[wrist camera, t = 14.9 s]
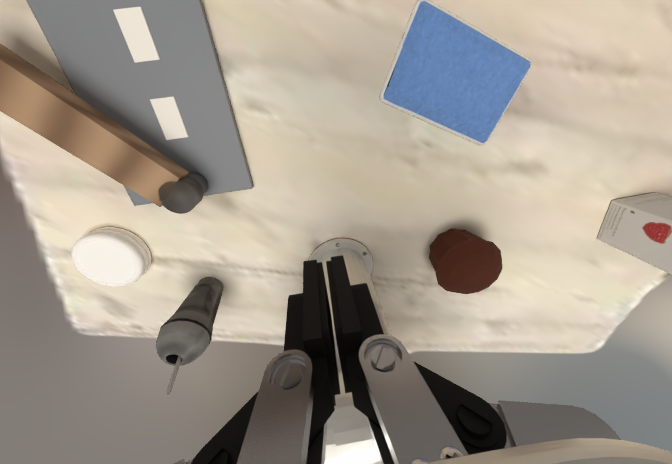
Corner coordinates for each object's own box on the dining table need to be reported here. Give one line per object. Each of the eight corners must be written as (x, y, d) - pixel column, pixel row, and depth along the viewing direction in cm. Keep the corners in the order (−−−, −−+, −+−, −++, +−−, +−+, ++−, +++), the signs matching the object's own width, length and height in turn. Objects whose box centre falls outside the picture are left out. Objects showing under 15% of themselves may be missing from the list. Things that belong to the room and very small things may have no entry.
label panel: (253, 186, 41) (248, 194, 37) (138, 202, 40) (121, 213, 36) (191, -37, 29) (174, -57, 25) (25, -19, 28) (-18, -37, 24)
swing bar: (210, 187, 36) (203, 194, 33) (192, 212, 37) (183, 221, 34) (-29, 23, 26) (-67, 15, 23) (-42, 66, 27) (-79, 63, 24)
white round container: (112, 281, 46) (98, 294, 43) (71, 235, 42) (52, 246, 38) (164, 266, 46) (154, 279, 43) (129, 218, 41) (115, 228, 38)
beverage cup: (191, 267, 46) (122, 370, 29) (233, 275, 48) (191, 377, 30) (188, 297, 49) (123, 408, 32) (227, 304, 51) (186, 412, 33)
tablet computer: (376, 100, 38) (378, 100, 36) (416, -4, 33) (420, -8, 31) (480, 146, 42) (485, 147, 41) (529, 61, 37) (536, 60, 36)
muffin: (482, 218, 48) (522, 244, 39) (475, 265, 53) (509, 298, 45) (421, 228, 48) (447, 257, 39) (420, 275, 53) (443, 310, 44)
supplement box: (610, 199, 49) (722, 235, 36) (654, 191, 50) (781, 224, 36) (594, 239, 54) (689, 285, 40) (635, 232, 54) (743, 275, 41)
